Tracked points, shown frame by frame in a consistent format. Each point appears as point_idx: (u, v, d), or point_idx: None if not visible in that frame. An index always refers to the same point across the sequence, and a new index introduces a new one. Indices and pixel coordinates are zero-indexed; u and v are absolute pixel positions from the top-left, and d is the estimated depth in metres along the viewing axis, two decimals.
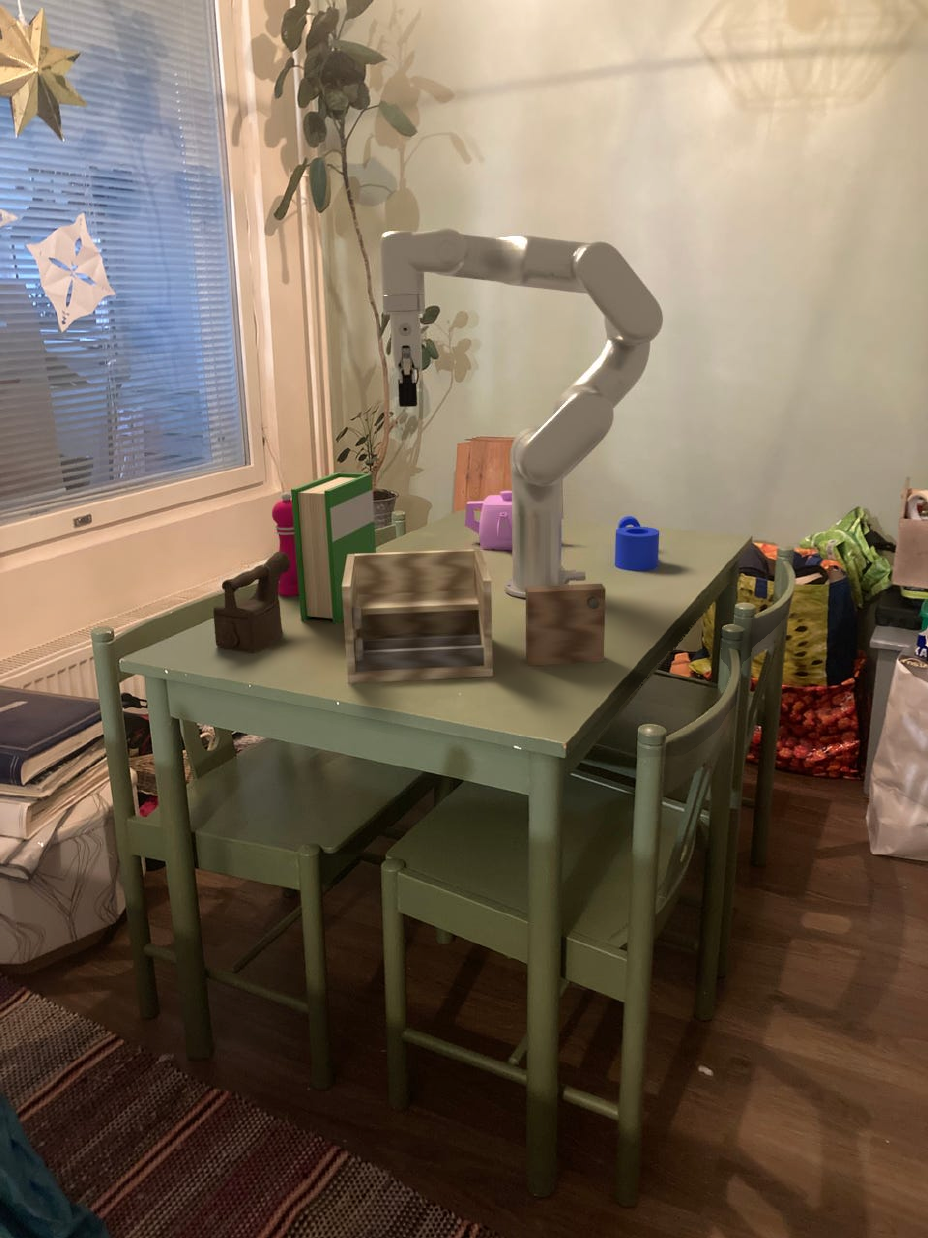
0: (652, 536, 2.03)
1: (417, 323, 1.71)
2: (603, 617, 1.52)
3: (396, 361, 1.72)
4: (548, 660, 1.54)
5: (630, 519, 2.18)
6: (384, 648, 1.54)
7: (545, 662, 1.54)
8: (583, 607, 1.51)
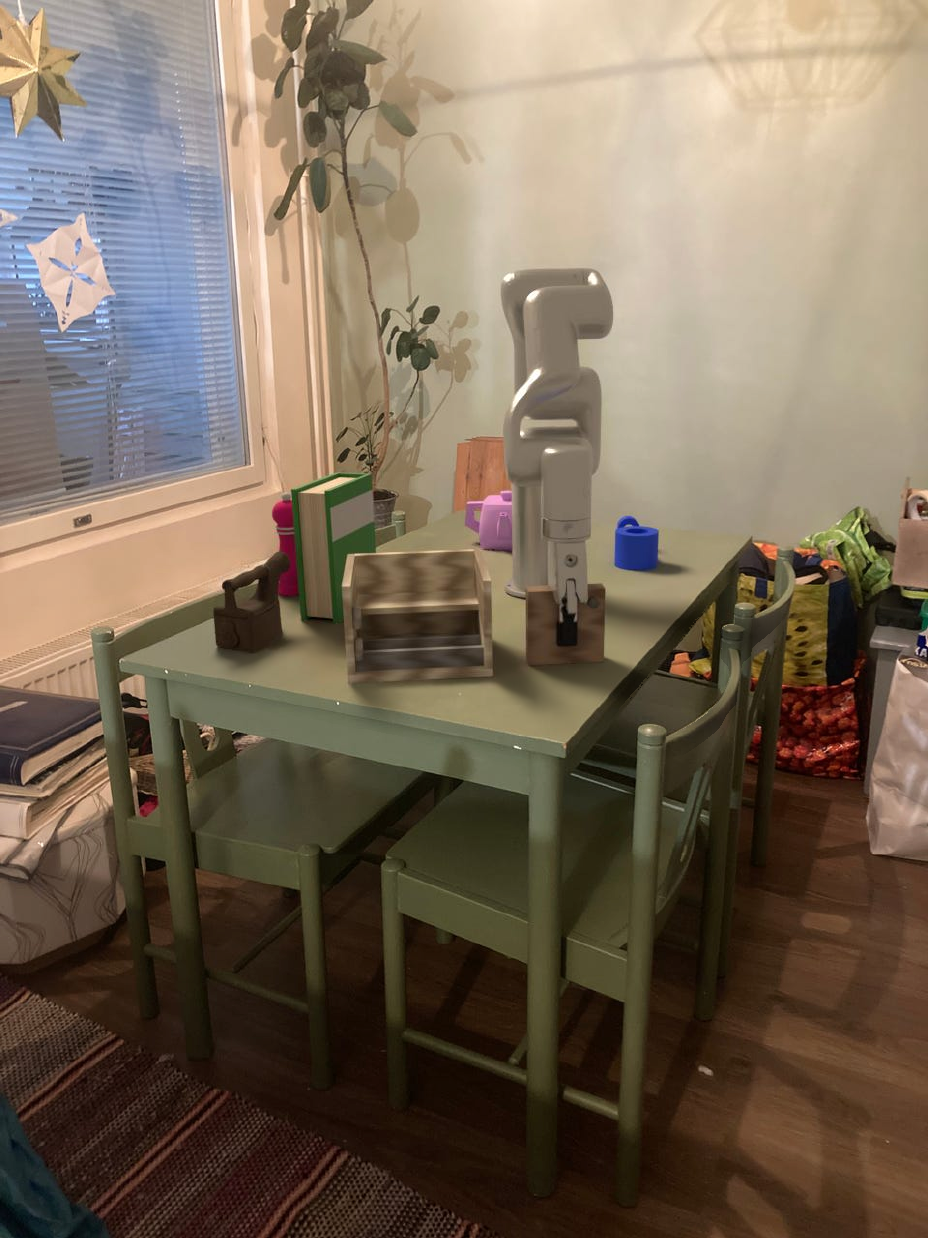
0: (652, 536, 2.03)
1: (585, 553, 1.46)
2: (603, 617, 1.52)
3: (559, 595, 1.47)
4: (547, 660, 1.54)
5: (629, 519, 2.18)
6: (384, 648, 1.54)
7: (545, 662, 1.54)
8: (583, 606, 1.51)
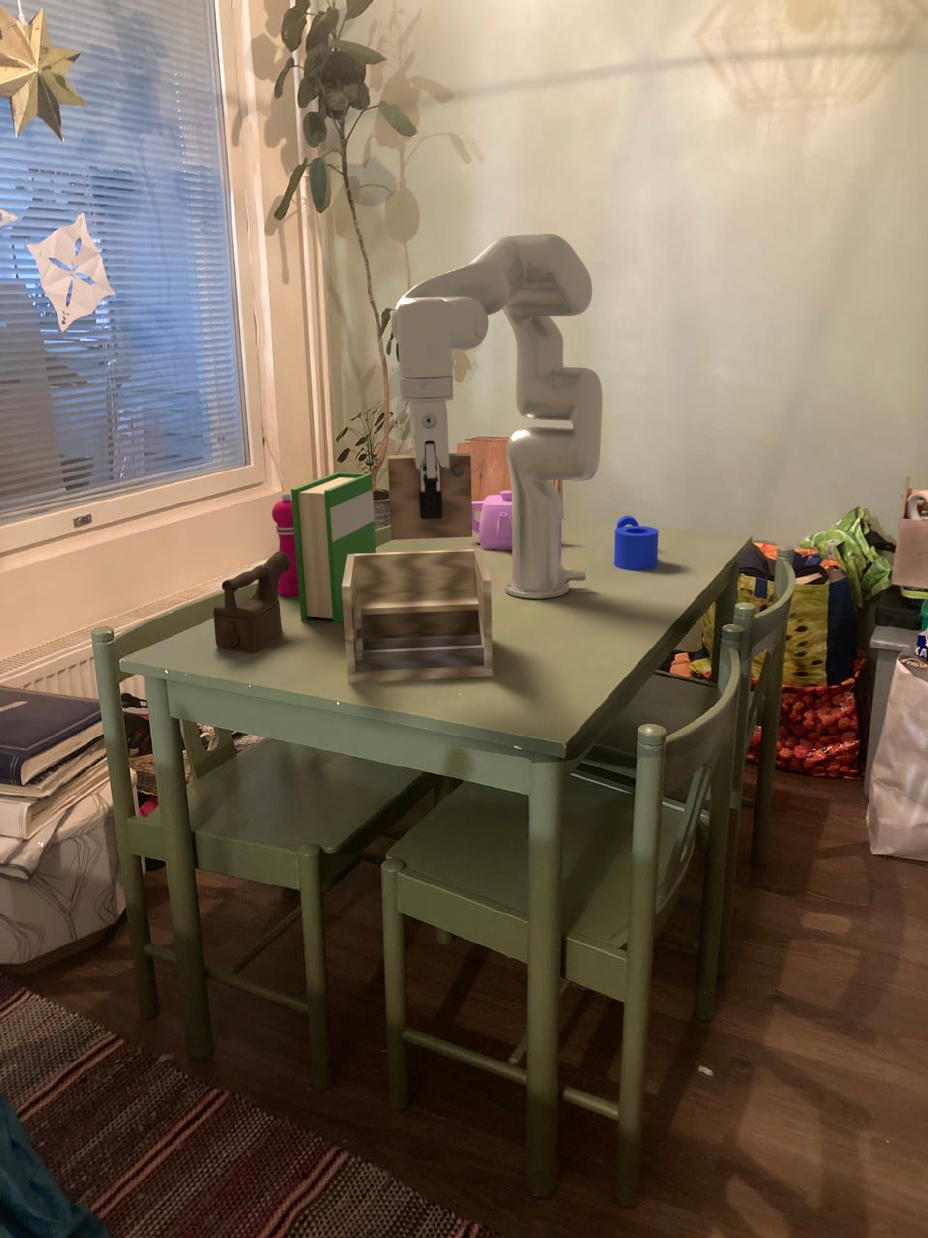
0: (651, 535, 2.03)
1: (444, 413, 1.37)
2: (469, 487, 1.43)
3: (417, 460, 1.38)
4: (412, 534, 1.45)
5: (628, 519, 2.19)
6: (384, 648, 1.54)
7: (409, 536, 1.45)
8: (448, 475, 1.43)
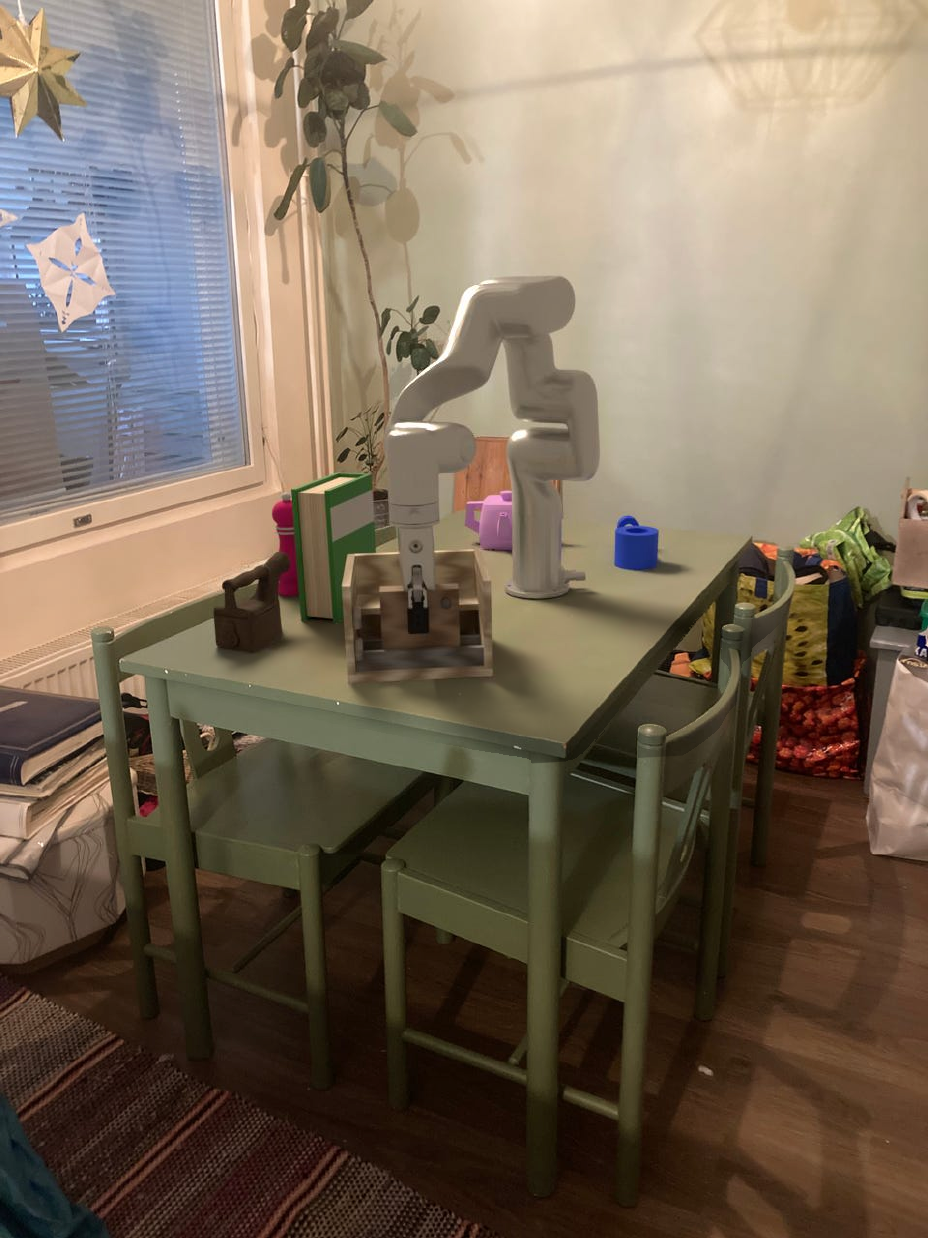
0: (652, 535, 2.03)
1: (430, 539, 1.42)
2: (458, 617, 1.49)
3: (405, 582, 1.43)
4: None
5: (629, 518, 2.19)
6: None
7: None
8: (437, 607, 1.49)
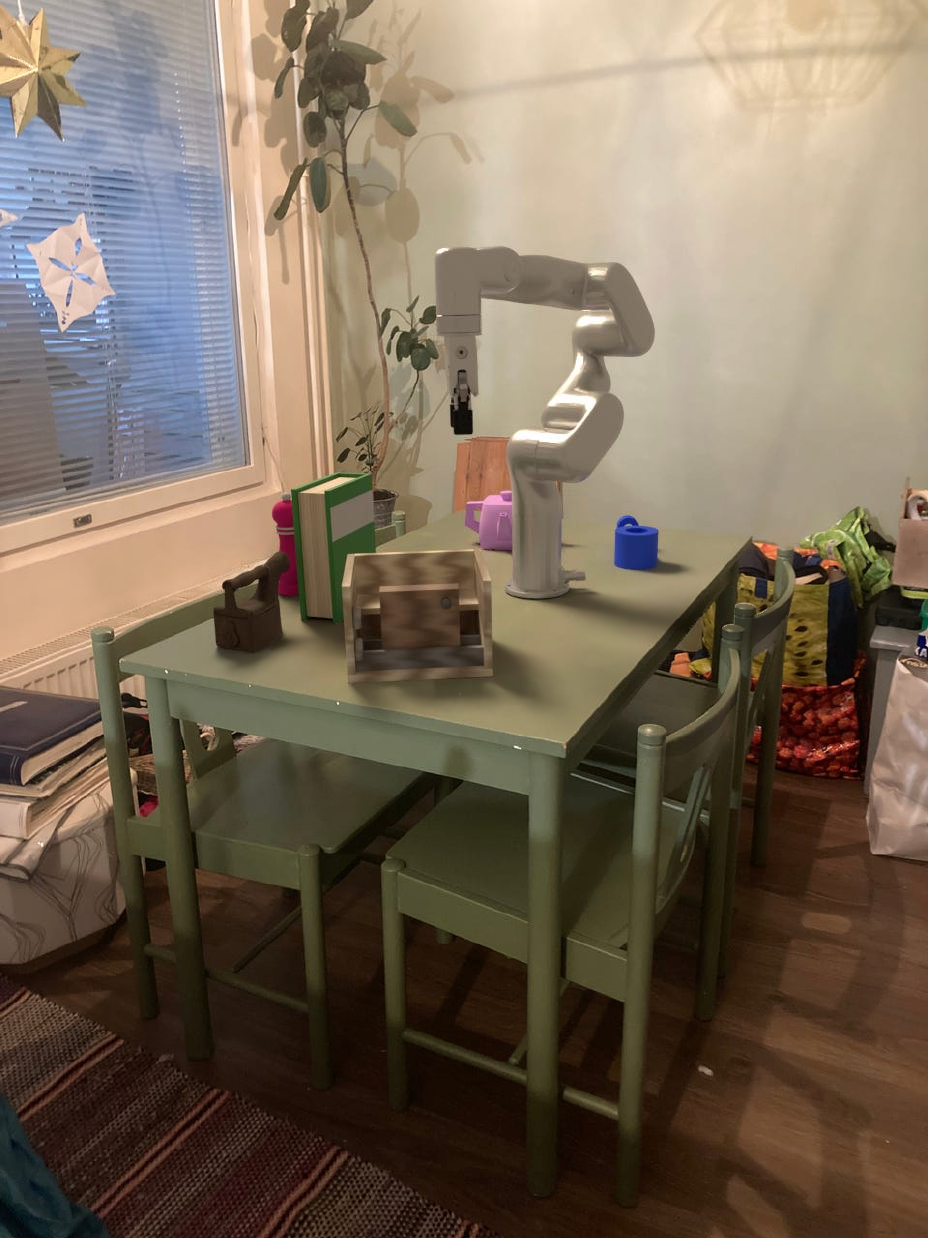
0: (651, 535, 2.03)
1: (474, 346, 1.59)
2: (458, 617, 1.49)
3: (451, 386, 1.61)
4: None
5: (628, 518, 2.19)
6: None
7: None
8: (437, 607, 1.49)
